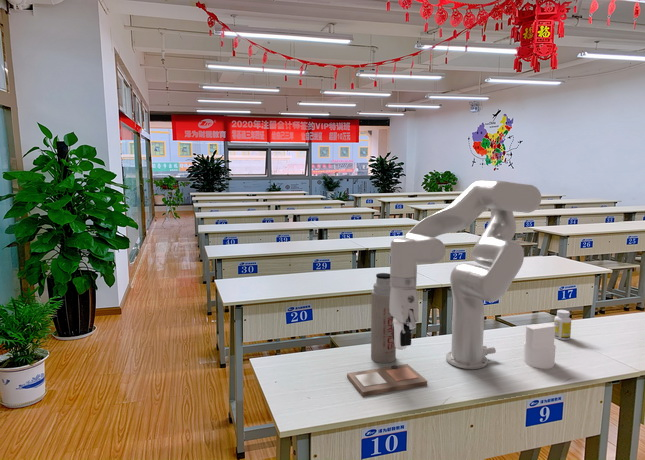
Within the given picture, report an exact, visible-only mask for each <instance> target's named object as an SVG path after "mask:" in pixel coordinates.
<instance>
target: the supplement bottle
mask: <svg viewBox="0 0 645 460" xmlns="http://www.w3.org/2000/svg"><path fill="white" fill-rule="evenodd" d="M553 325H554V326H555V337H554V339H557V340H561V341H567V340H570V339H571V333H572V331H571V330H572V318H570V311H569V310H567V309H566V310H565V309H557V310H556V315H555V317H554V321H553Z"/></svg>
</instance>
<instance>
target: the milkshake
mask: <svg viewBox="0 0 645 460" xmlns="http://www.w3.org/2000/svg"><path fill="white" fill-rule="evenodd" d="M406 321H409V320H406ZM393 323H394V341H395V348H396V350H399V351H400V350H406V349H407V346H401V345H400V337H401V332H402V324H401V322H400V321H399V320H397V319H396V318H395V319H394V320H393ZM406 326H408V324H405V327H406Z"/></svg>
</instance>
